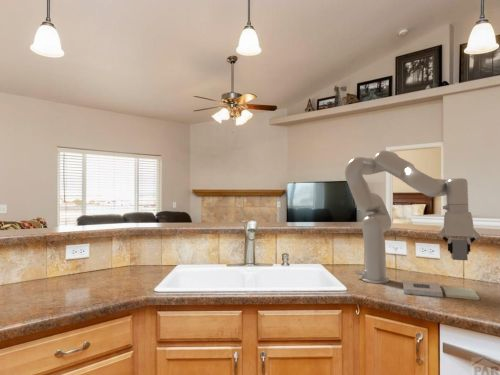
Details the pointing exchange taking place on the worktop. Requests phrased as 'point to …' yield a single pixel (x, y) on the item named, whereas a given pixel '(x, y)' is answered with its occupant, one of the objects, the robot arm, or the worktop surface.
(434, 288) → the socket plate
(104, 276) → the worktop surface
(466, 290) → the board
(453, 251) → the block
